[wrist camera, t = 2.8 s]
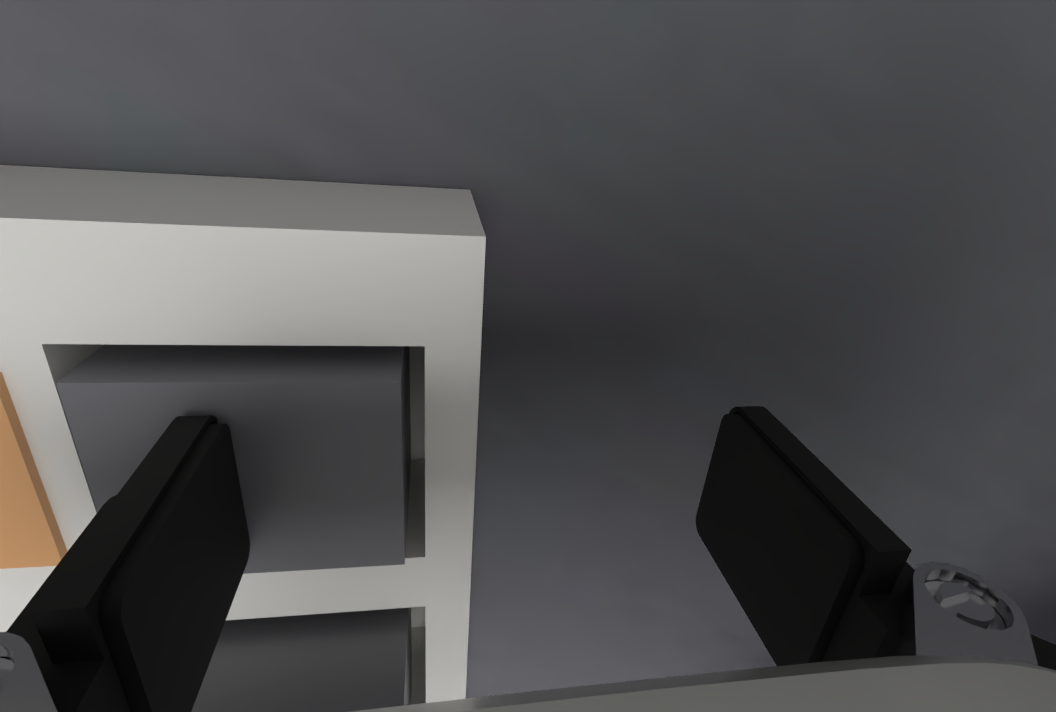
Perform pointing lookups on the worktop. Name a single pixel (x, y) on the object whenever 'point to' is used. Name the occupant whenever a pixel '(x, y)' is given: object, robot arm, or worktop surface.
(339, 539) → the button
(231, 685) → the button
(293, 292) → the switch box
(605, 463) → the worktop surface
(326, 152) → the worktop surface
